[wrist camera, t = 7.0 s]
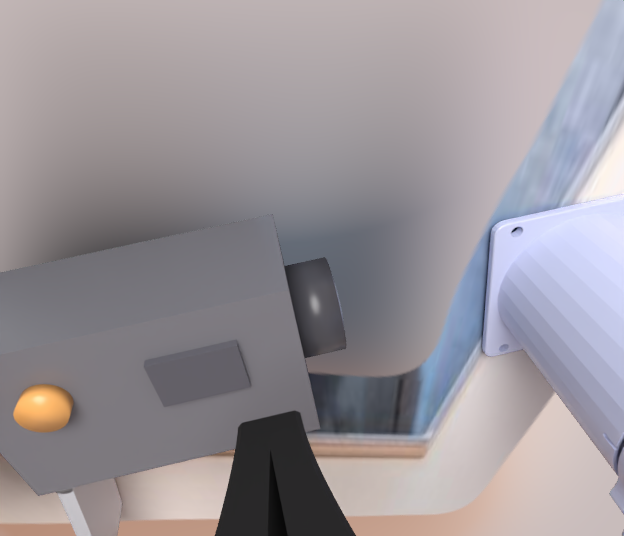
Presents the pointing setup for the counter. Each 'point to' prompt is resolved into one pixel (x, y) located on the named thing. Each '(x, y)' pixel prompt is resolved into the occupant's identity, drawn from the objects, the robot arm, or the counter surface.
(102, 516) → the side door
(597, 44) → the counter surface
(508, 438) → the counter surface
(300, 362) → the block
